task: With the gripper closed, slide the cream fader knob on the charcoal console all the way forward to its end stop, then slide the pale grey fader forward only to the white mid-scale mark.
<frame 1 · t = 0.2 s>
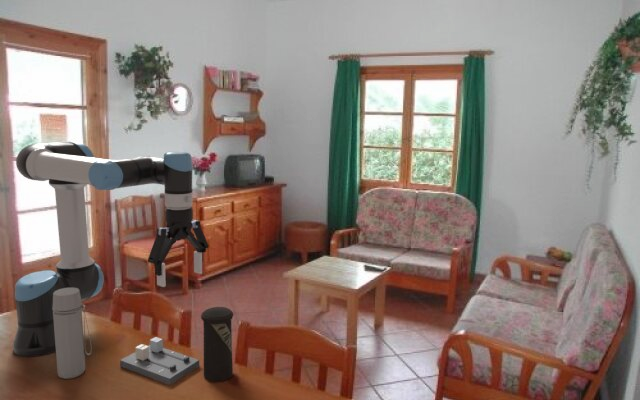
hand: (180, 279, 138), 28 cm above the table, fingers open, 13 cm apart
cream fader: (142, 352, 143), point 4 cm above the table, slide at 0.0 cm
container: (218, 375, 139), on the table
console: (160, 366, 143), on the table
water bottle: (75, 373, 138), on the table
grey fader: (156, 344, 148), point 4 cm above the table, slide at 0.0 cm
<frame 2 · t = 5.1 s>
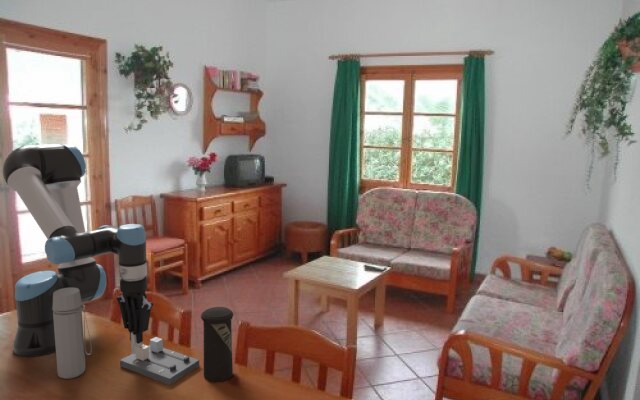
hand: (137, 351, 144), 4 cm above the table, fingers closed
cream fader: (142, 352, 143), point 4 cm above the table, slide at 0.0 cm, touching gripper
everything else where it was.
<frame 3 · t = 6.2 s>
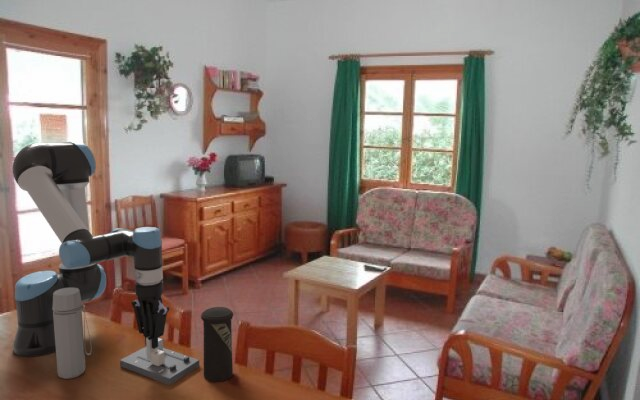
hand: (152, 357, 141), 4 cm above the table, fingers closed
cream fader: (157, 357, 140), point 4 cm above the table, slide at 6.3 cm, touching gripper
everything else where it was.
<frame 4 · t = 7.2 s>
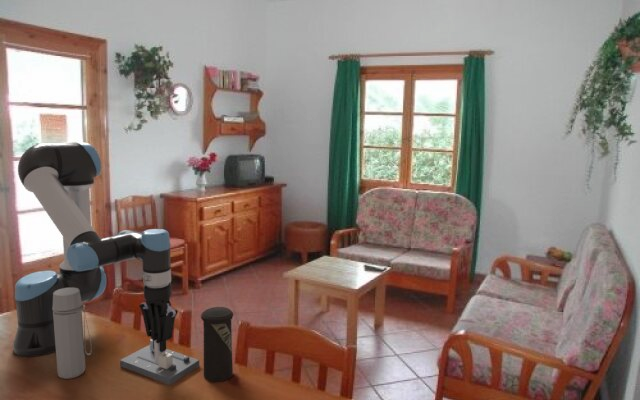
hand: (160, 360, 140), 3 cm above the table, fingers closed
cream fader: (165, 360, 139), point 4 cm above the table, slide at 9.5 cm, touching gripper
everything else where it was.
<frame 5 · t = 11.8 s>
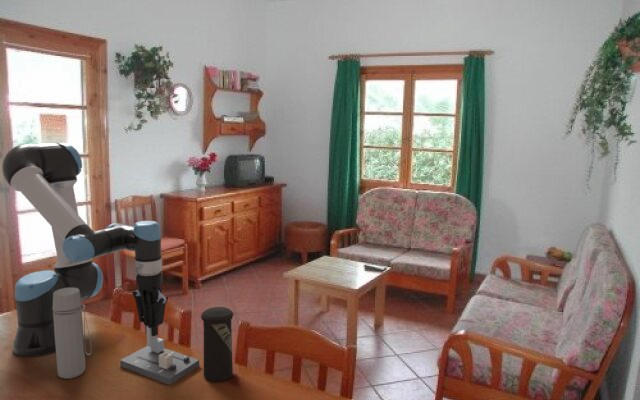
hand: (152, 344, 149), 4 cm above the table, fingers closed
cream fader: (165, 360, 139), point 4 cm above the table, slide at 9.5 cm
grey fader: (157, 344, 148), point 4 cm above the table, slide at 0.4 cm, touching gripper
everything else where it was.
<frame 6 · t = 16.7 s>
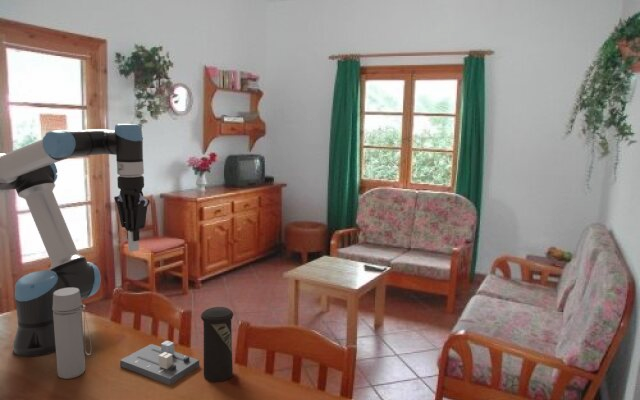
hand: (133, 250, 149), 32 cm above the table, fingers closed
grey fader: (167, 348, 146), point 4 cm above the table, slide at 4.7 cm
everything else where it was.
at the end: cream fader slide at 9.5 cm; grey fader slide at 4.7 cm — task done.
